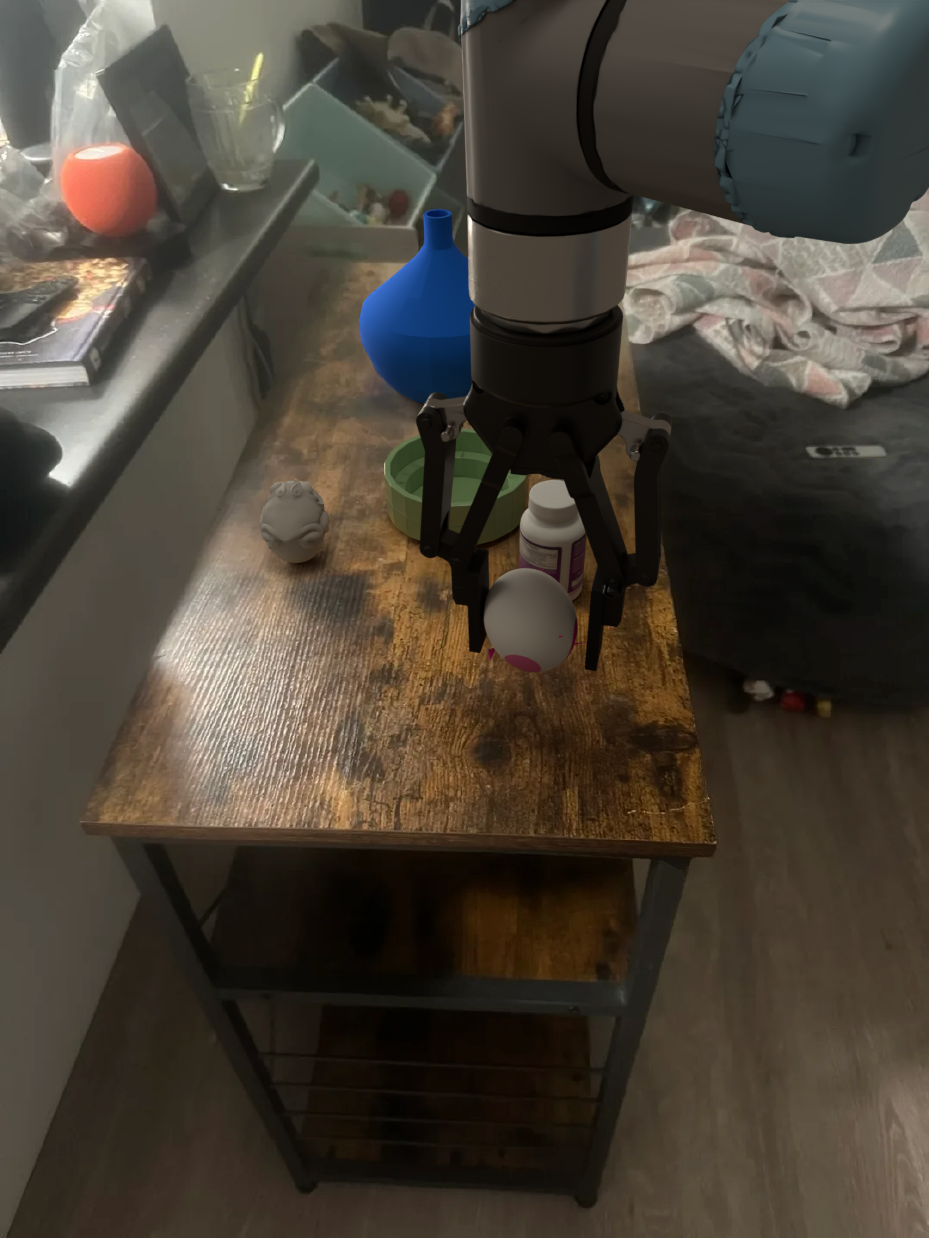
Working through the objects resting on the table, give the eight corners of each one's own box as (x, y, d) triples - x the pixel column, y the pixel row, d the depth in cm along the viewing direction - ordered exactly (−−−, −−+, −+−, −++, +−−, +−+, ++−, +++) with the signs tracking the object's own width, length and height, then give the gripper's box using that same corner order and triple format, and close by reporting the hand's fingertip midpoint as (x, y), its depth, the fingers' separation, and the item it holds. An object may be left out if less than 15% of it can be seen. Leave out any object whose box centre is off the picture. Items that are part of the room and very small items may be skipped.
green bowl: (539, 481, 87) (541, 436, 84) (510, 561, 78) (511, 514, 74) (411, 465, 90) (408, 421, 86) (369, 541, 80) (364, 495, 77)
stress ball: (565, 722, 58) (631, 658, 54) (464, 686, 54) (528, 615, 51) (544, 641, 63) (602, 578, 60) (451, 603, 59) (507, 534, 56)
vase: (483, 341, 111) (482, 178, 99) (550, 404, 99) (559, 226, 86) (345, 369, 106) (325, 201, 94) (397, 439, 94) (382, 257, 81)
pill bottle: (561, 561, 77) (568, 467, 71) (593, 596, 74) (603, 500, 67) (507, 579, 76) (508, 484, 69) (537, 616, 72) (541, 519, 66)
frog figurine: (339, 532, 81) (329, 467, 77) (328, 579, 76) (317, 513, 72) (274, 532, 82) (260, 467, 77) (258, 579, 76) (243, 513, 72)
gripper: (758, 287, 43) (693, 632, 59) (378, 264, 48) (409, 591, 63) (756, 351, 38) (685, 713, 53) (328, 318, 42) (375, 662, 57)
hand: (535, 647), depth 58 cm, fingers closed on stress ball, 7 cm apart
